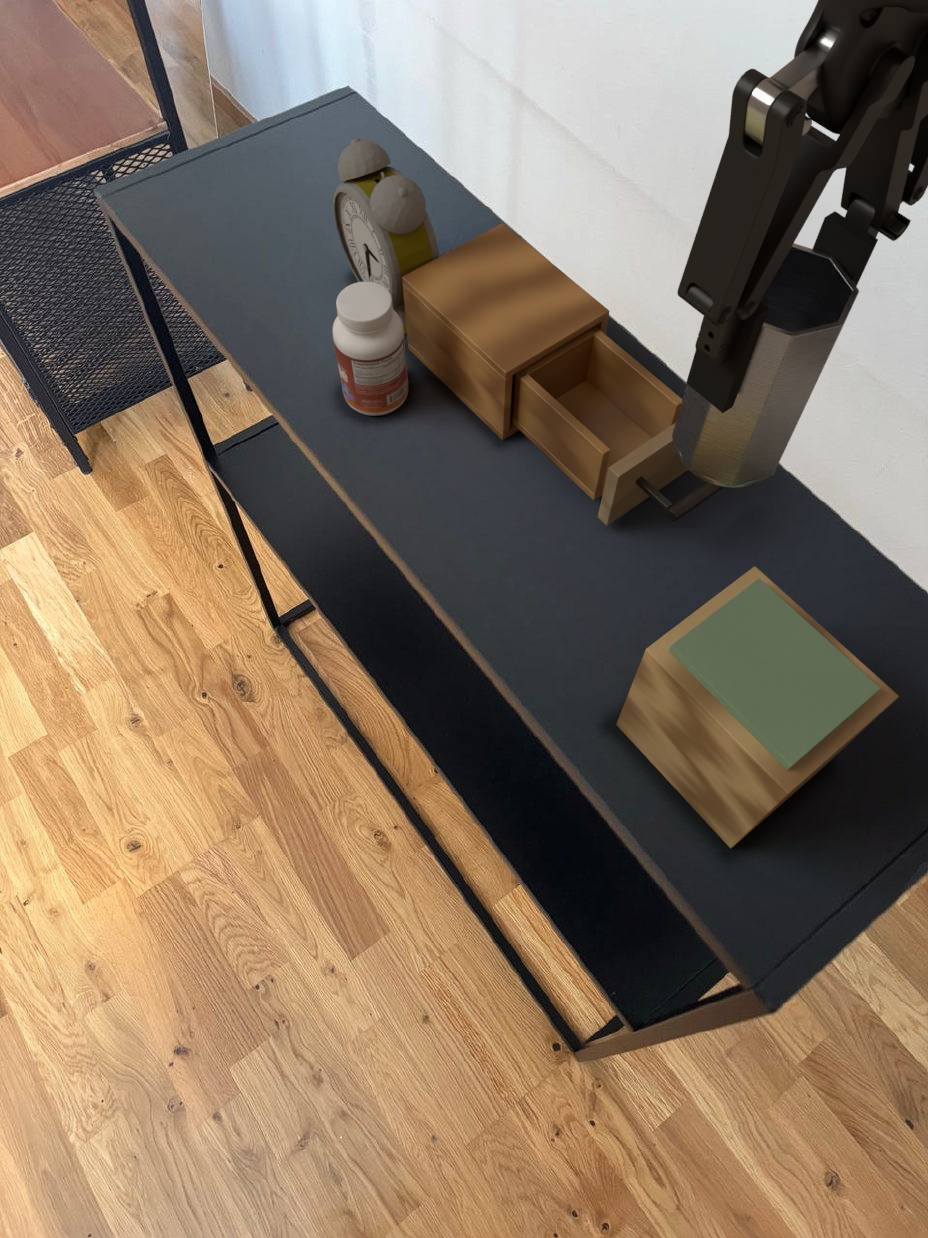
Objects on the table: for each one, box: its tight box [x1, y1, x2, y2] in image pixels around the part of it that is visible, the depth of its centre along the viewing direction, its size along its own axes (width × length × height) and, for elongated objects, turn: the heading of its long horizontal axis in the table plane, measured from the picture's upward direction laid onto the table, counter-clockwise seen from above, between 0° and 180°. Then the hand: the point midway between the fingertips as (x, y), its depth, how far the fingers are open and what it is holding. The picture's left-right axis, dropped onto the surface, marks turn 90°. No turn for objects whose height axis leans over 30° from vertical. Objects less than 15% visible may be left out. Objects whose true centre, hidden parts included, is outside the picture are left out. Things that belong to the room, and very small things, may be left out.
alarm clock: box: [332, 137, 440, 335], centre depth 83 cm, size 12×7×15 cm, turn 33°
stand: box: [615, 566, 900, 849], centre depth 61 cm, size 12×10×13 cm
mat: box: [669, 578, 881, 770], centre depth 55 cm, size 10×8×1 cm
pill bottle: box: [332, 281, 409, 417], centre depth 78 cm, size 6×6×11 cm
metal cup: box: [672, 242, 860, 489], centre depth 49 cm, size 6×6×12 cm
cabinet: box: [402, 222, 610, 441], centre depth 81 cm, size 15×12×9 cm
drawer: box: [513, 326, 725, 527], centre depth 75 cm, size 18×10×7 cm, turn 38°
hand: (759, 361), depth 48 cm, fingers closed on metal cup, 7 cm apart
